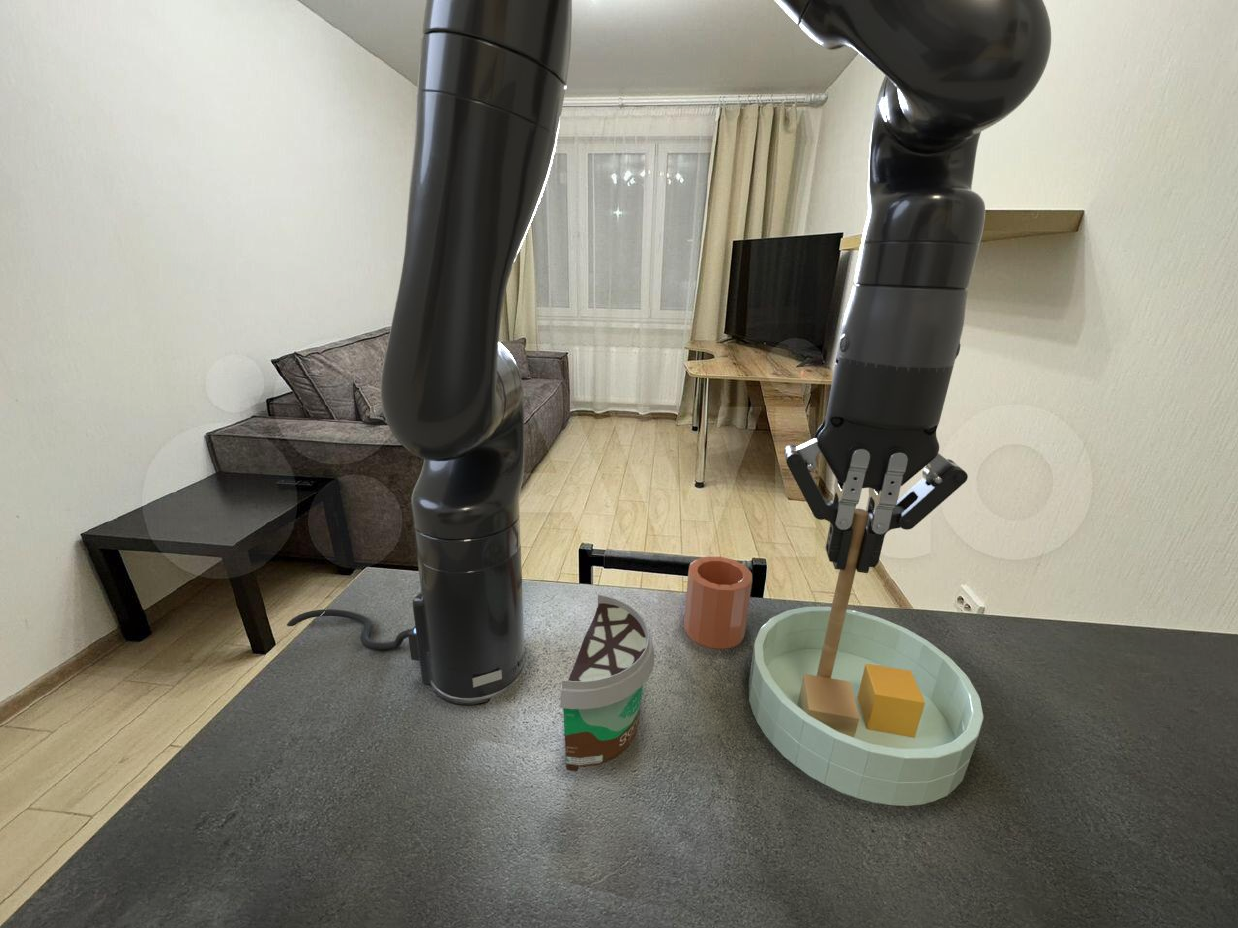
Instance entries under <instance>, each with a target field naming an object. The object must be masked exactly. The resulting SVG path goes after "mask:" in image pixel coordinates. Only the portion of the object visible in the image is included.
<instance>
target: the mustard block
mask: <svg viewBox="0 0 1238 928" xmlns="http://www.w3.org/2000/svg"><path fill="white" fill-rule="evenodd" d="M858 699H859V703H860V706H861V710H862V713H863V717H864V720H865V724H866V727H867V729H869V730H875V731H880V732H886V733H891V734H897V735H902V736H908V737H913V738H915V735H916V732H917V729H918V725H919V722H920V719H921V715H922V712H923V708H924V705H925V701H924V699H923V697H922V694H921V692H920V690H919V688H918V685H917V683H916V681H915V679H914V676H913V674H912V672H911V671H909V670H903V669H897V668H891V667H884V666H878V665H872V664H865V668H864V672H863V676H862V680H861V685H860V689H859V693H858Z"/></svg>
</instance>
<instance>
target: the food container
mask: <svg viewBox="0 0 1238 928" xmlns="http://www.w3.org/2000/svg"><path fill="white" fill-rule="evenodd" d="M654 649H655V648H654V644H653V638H652V634H651V632H650V629H649V627H648V625H647V623H646V621H645V619H644V618H643V617H642V615H641V614H640V613H639V612H638V611H637V610H636V609H634V607H632V606H631V605H629V604H628V603H625V602H623V601H621V600H619V599H616V598H614V597H610V596H607V595H602V594H597V607H596V611H595V613H594V616H593V618H592V620H591V622H590V625H589V627H588V629H587V631H586V633H585V635H584V637H583V640H582V643H581V645H580V649H579V650H578V651H579V652H578V654H577V657H576V659H575V661H574V665H573V667H572V669H571V672H570V674H569V677H568V680H566V679H562V680H561V690H560V702H559V708H560V709H562V711H563V731H564V748H565V750H564V753H565V770H567V771H572V772H573V771H574V772H575V771H576V772H578V770H579V768H584V767H591V766H599V765H602V764H604V763H607V762H609V761H611V760H614V759H617V757H619V756H620V755H621V754H622V753H624V752H625V750H627V749H628V748H629V747H630V745H631V744H632V742H633V741H634V739H635V737H636V733H637V729H638V723H639V717H640V710H641V704H642V703H641V702H642V697H643V696H642V695H643V689H644V684H645V683H646V682H647V681H648V679H649V678H650V676H651V674H652V673H653V669H654V666H655V659H656V658H655V657H656V656H655V655H656V654H655V650H654Z"/></svg>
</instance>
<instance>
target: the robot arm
mask: <svg viewBox="0 0 1238 928" xmlns="http://www.w3.org/2000/svg"><path fill="white" fill-rule="evenodd" d="M774 2H775V3H776V4H777V5H778V6H779V7H780V8H781V9H782V10H783V11H784V12H785V14H787V15H788V17H790V18H791V20H793V21H794V23H795V24H796V25H797V26H799V27H800V28H801V30H802V31H803V32H804V33H805V34H806V35H807V36H808V37H809V38H810V39H811V40H813V41H814V42H815V43H816V44H818V45H819V46H821V47H822V48H824V49H826V50H829V51H839V50H843V49H845V48H848V47H849V48H851V49H853V50H854V51H856V52H857V53H858V54H859V55H861V57H863V58H864V59H865V60H867V61H868V62H869V63H870V64H872V66H873V67H875V68H876V69H877V70H878V71H880V72H881V73H882V74H883V75H884V78H883V80H882V82H881V85H880V88H879V92H878V96H877V99H876V103H875V107H874V112H873V118H872V124H871V130H870V131H871V132H870V141H869V156H868V157H869V158H868V177H867V179H868V180H867V213H866V218H865V219H866V220H865V223H864V227H863V230H862V235H861V240H860V245H859V250H858V256H857V261H856V265H855V270H854V271H855V272H854V278H853V281H852V282H853V285H852V288H851V292H850V296H849V299H848V303H847V305H846V308H845V311H844V315H843V318H842V323H841V329H840V335H839V336H840V337H839V340H838V345H837V351H836V357H835V362H834V369H833V370H834V371H833V373H832V374H833V375H832V380H831V384H830V385H831V386H830V390H829V396H828V402H827V408H826V412H825V413H826V414H825V418H824V420H823V422H822V424H821V425H820V426H819V427H818V429H816V432H815V435H814V438H812V439H810V440H807V441H806V442H804V443H802V444H799V445H798V446H797V445H795V444H789V445H786V446H785V447H784V450H783V455H784V459H785V462H786V465H787V467H788V469H789V471H790V473H791V475H792V477H793V479H794V480H795V482H796V485H797V486H798V489H799V490H800V492H801V494H802V496H803V498H804V500H805V501H806V503H807V506H808V507H809V509H810V511H811V513H812V515H813V517H814V518H815V519H817V520H820V521H823V520H824V521H827V522H828V523H829V528H828V532H827V538H826V543H825V551H826V554H827V559H828V560H829V562H831V563H832V565H833V568H834V569H835V570H837V571H838V570H845V568H846V563H847V559H848V554H849V549H850V544H851V540H852V535H853V530H852V528H851V525H852V521H853V517H854V512H855V509H857V508H856V507H857V505H858V504H859V502H860V499H861V494H862V490H863V489H868V498H867V502H866V508H865V510H866V511H867V512H868V513H869V516H868V520H867V524H866V529H865V532H864V537H863V541H862V545H861V550H860V554H859V558H858V563H857V567H856V572H857V573H862V574H868V573H869V572H870V568H875V567H876V566H877V565H878V564H879V562H880V558H881V554H882V549H883V545H884V540H885V537H886V534H887V533H888V532H890V531H891V530H895V529H903V530H912V529H913V528H914V527H916V526H917V525H918V524H919V523H921V521H923V520H924V519H925V518H927V516H928V515H929V514H931V513H932V512H933V511H934V510H935V509H936V508H937V507H939V506H940V505H941V504H942V503H944V502H945V500H947V499H948V498H949V497H951V495H953V494H954V493H955V492H956V491H957V490H959V488H960V487H962V485H964V484H965V483H966V482H967V481H968V479H969V475H968V473H967V472H966V471H965V470H964V469H963V468H962V467H960V466H959V465H958V464H957V463H956V462H955V461H953V460H952V459H949V458H946V457H944V456H943V455H942V454H941V453H940V443H939V440H938V437H937V430H938V427H939V425H940V422H941V417H942V413H943V409H944V405H945V402H946V397H947V393H948V389H949V386H950V382H951V379H952V373H953V370H954V366H955V363H956V359H957V358H958V356H959V354H960V351H961V339H962V335H963V330H964V325H965V317H966V307H967V300H968V299H967V298H968V295H969V290H968V289H969V288H970V285H971V281H972V277H973V273H974V270H975V266H976V262H977V257H978V254H979V249H980V245H981V241H982V237H983V233H984V229H985V222H986V204H985V201H984V199H983V197H982V196H980V195H979V193H977V192H976V191H973V190H972V188H973V180H974V179H973V178H974V172H975V164H976V157H977V150H978V145H979V140H980V136H981V133H982V132H983V131H985V130H987V129H988V128H991V127H993V126H994V125H996V124H998V123H999V122H1001V121H1002V120H1004V119H1006V118H1007V117H1008V116H1009V115H1011V114H1012V113H1014V111H1015V110H1016V109H1018V108H1019V107H1020V106H1021V105H1022V104H1023V103H1024V102H1025V101H1026V99H1028V97H1029V96H1030V95H1031V93H1033V91H1034V90H1035V88H1036V86H1037V85H1038V83H1039V82H1040V80H1041V78H1042V76H1043V74H1044V72H1045V70H1046V68H1047V64H1048V61H1049V59H1050V55H1051V54H1050V53H1051V48H1052V26H1051V21H1050V17H1049V13H1048V9H1047V7H1046V5H1045V2H1044V0H774ZM572 18H573V0H426V1H425V9H424V15H423V23H422V32H421V37H422V38H421V41H420V52H419V53H420V54H419V63H418V65H419V66H418V73H417V74H418V77H417V86H416V98H415V102H416V103H415V119H414V138H413V148H412V149H413V150H412V160H411V170H410V179H409V181H410V182H409V189H408V202H407V214H406V226H405V227H406V229H405V239H404V240H405V242H404V251H403V259H402V266H401V268H402V269H401V274H400V279H399V284H398V289H397V290H398V291H397V295H396V301H395V304H394V310H393V315H392V321H391V326H390V330H389V334H388V339H387V345H386V349H385V355H384V359H383V364H382V370H381V377H380V388H379V391H380V392H379V393H380V403H381V408H382V413H383V417H384V419H385V422H386V424H387V426H388V428H389V430H390V432H391V433H392V435H393V436H394V438H395V439H396V441H397V442H398V443H399V444H400V445H401V446H402V447H403V448H404V449H405V450H406V451H408V452H409V453H411V454H413V456H416V457H418V458H420V459H423V464H422V468H421V470H420V473H419V476H418V479H417V481H416V483H415V485H414V487H413V490H412V492H411V495H410V508H411V517H412V525H413V534H414V542H415V543H414V544H415V550H416V552H415V553H416V558H417V559H416V560H417V568H418V575H419V584H420V591H419V592H418V593H417V594H416V595H415V596H414V597H413V599H412V602H411V603H412V604H411V605H412V611H413V612H412V613H413V620H414V626H413V628H408V629H405V630H402V631H400V632H398V634H397V635H396V637H395V639H394V640H392V641H388V642H387V641H386V642H377V641H374V640H371V639H370V638H369V635H370V633H371V630H372V627H373V622H372V620H371V619H370V618H369V617H368V616H366V615H363V614H360V613H357V612H355V611H351V610H350V611H349V610H345V609H335V608H331V609H330V608H324V609H323V608H322V609H314V610H310V611H306V612H303V613H300V614H298V615H296V616H293V618H291V619H290V621H288V622H287V623H286V626H287V627H289V628H290V627H293V626H296V625H297V624H300V623H301V622H303V621H306V620H308V619H313V618H318V617H339V618H346V619H350V620H354V621H356V622H359V623H361V624H363V625H364V626H363V628H362V631H361V634H360V637H359V639H360V642H361V645H363V646H364V647H365V648H367V649H370V650H375V651H389V650H394V649H398V648H399V647H400V646H401V645H402V644H403V642H404V640H405V639H407V638H408V645H409V652H410V660H411V661H416V662H419V668H420V669H419V670H420V678H421V683H422V684H426V685H429V686H431V689H432V691H433V692H434V693H435V694H436V695H437V696H438V697H440V698H441V699H443V700H445V701H447V702H450V703H453V704H458V705H478V704H484V703H488V702H490V701H491V699H493V698H495V697H498V696H500V695H502V694H504V693H506V692H507V691H508V690H510V689H511V688H513V686H514V685H516V684H517V683H518V682H519V680H520V679H521V678H522V676H523V674H524V672H525V670H526V665H527V655H526V645H525V623H524V598H523V594H524V593H523V570H522V545H521V544H522V543H521V519H520V517H521V516H520V496H521V490H522V485H523V480H524V476H525V475H524V474H525V397H524V385H523V380H522V376H521V372H520V369H519V366H518V364H517V362H516V360H515V359H514V357H513V355H512V354H511V353H510V351H509V350H508V349H507V348H506V347H505V346H504V345H503V344H502V343H501V342H500V334H501V333H500V331H501V322H502V314H503V307H504V303H505V302H504V301H505V296H506V291H507V287H508V282H509V279H510V276H511V273H512V270H513V267H514V264H515V261H516V259H517V257H518V254H519V252H520V249H521V247H522V245H523V242H524V240H525V238H526V235H527V233H528V230H529V228H530V226H531V223H532V221H533V218H534V216H535V214H536V211H537V210H538V209H537V208H538V205H539V204H540V202H541V198H542V197H543V193H544V191H545V187H546V184H547V181H548V178H549V175H550V171H551V167H552V165H553V159H554V155H555V152H556V146H557V142H558V141H557V139H558V134H559V129H560V123H561V117H562V112H563V107H564V101H565V95H566V89H567V83H568V75H569V67H570V59H571V48H572V47H571V46H572V26H573V25H572V20H573V19H572ZM820 453H821V455H822V456H823V458H824V460H825V462H826V464H827V465H828V467H829V468H830V470H831V473H832V474H833V475H834V477H835V479H834V485H833V486H834V487H833V489H834V490H833V491H834V492H833V497H832V500H830V499H828V498H825V496H824V495H823V493H822V491H821V489H820V486H819V484H818V483H817V481H816V479H815V477H814V475H813V473H812V472H814V471H815V470H816V469H817V467H818V461H817V457H818V455H819V454H820ZM920 471H922V473H921V475H922V478H921V479H919V480H918V481H917V482H916V483H915V484H914V485H913V486H912V487H911V488H910V489H909V490H908V491H906V492H905V494H903V495H902V496H901V497H900V496H899V495H900V492H901V487H902V486H904V485H905V484H906V483H907V482H909V481H910V480H911V479H912V478H913V477H915V476H916V475H917V474H918V473H919V472H920ZM899 497H900V498H899ZM325 609H327V610H325ZM324 611H325V613H324V614H323V615H322V616H320V615H321V614H322V613H323V612H324Z"/></svg>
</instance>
